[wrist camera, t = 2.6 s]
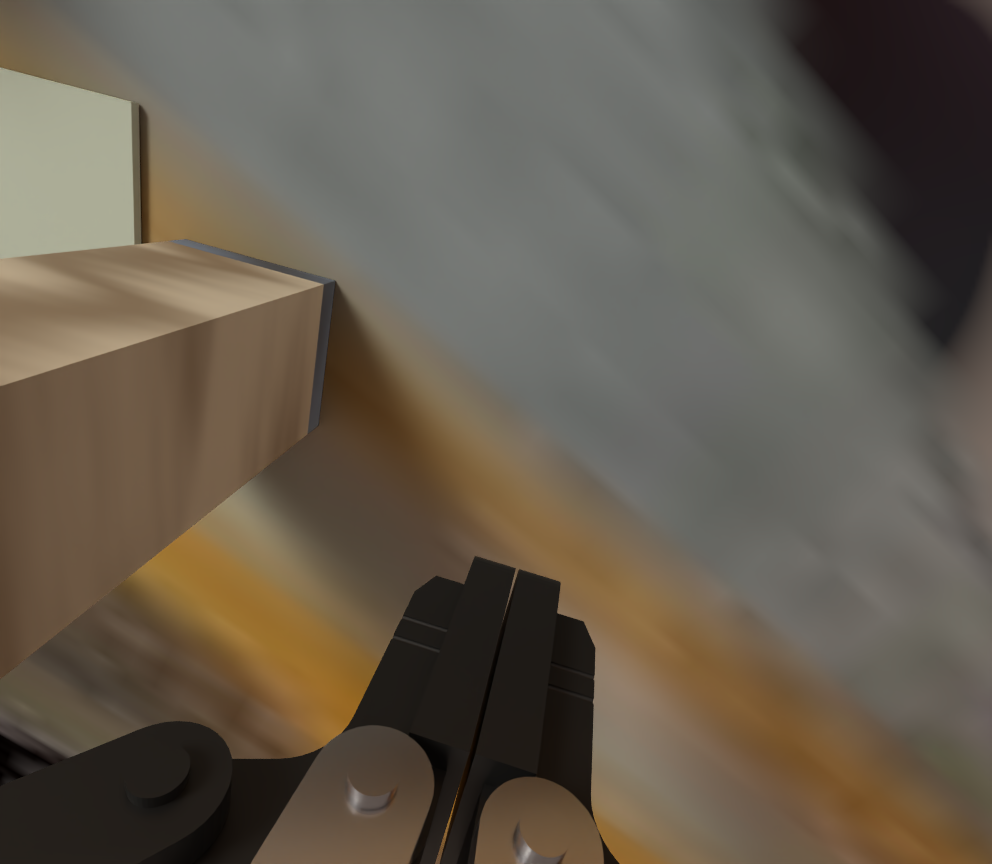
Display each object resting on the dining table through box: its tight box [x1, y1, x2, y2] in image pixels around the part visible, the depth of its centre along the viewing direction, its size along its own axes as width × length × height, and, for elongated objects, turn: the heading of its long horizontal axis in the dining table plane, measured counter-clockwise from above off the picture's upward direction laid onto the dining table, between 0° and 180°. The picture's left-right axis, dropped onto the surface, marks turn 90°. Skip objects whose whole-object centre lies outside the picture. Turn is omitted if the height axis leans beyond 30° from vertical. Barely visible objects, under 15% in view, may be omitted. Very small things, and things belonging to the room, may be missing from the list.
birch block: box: [0, 239, 335, 679], centre depth 14 cm, size 5×5×12 cm
